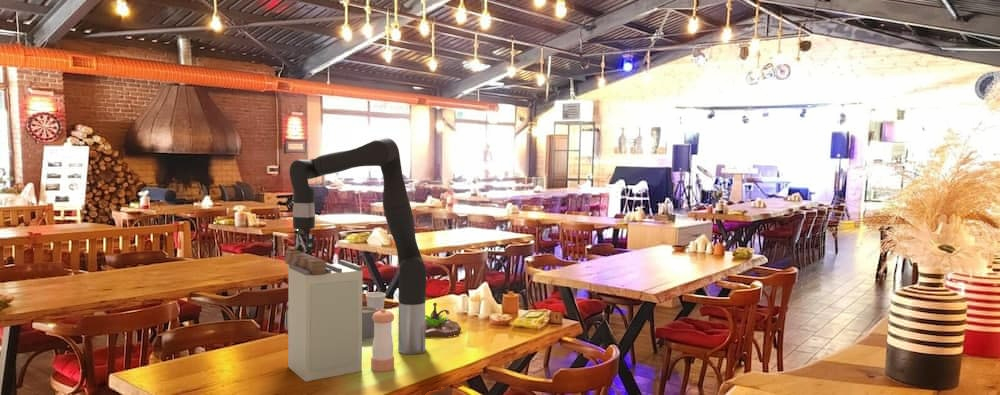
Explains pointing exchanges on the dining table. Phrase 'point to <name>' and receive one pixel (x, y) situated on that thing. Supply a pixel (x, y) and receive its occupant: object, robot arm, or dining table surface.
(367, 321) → the coffee mug
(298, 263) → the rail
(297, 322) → the cabinet
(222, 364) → the dining table surface
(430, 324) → the plant
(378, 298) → the dixie cup
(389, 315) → the pepper shaker
